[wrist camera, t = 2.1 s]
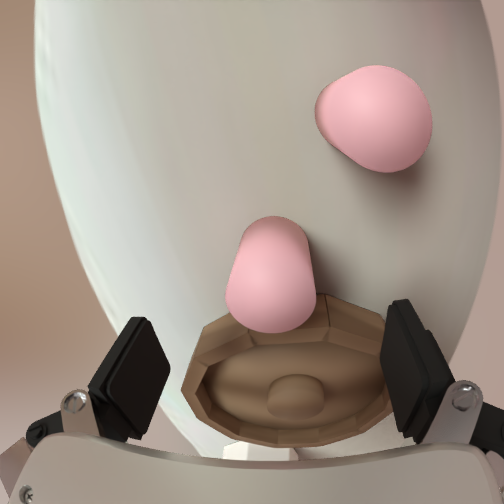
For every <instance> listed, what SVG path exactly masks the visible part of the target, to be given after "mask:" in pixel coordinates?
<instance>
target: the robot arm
mask: <svg viewBox="0 0 504 504" xmlns="http://www.w3.org/2000/svg"><path fill="white" fill-rule="evenodd" d="M380 364H381V368H382V371H383V375H384V378H385V382H386V385H387V389H388V393H389V397H390V400H391V404H392V408H393V412H394V416H395V421H396V425H397V429H398V431H399V432H403V436H404V438H408V437H413V440H414V442H416V444H415V445H412V446H406V447H401V448H395V449H390V450H384V451H379V452H373V453H366V454H360V455H352V456H344V457H336V458H326V459H313V460H294V461H250V460H231V459H218V458H208V457H199V456H191V455H184V454H177V453H171V452H166V451H160V450H155V449H150V448H145V447H141V446H136V445H132V444H128V442H127V439H128V437H130V438H133V439H137V440H141V438H142V436H143V434H145V433H146V432H147V430H148V427H149V424H150V422H151V419H152V417H153V414H154V412H155V409H156V407H157V404H158V401H159V399H160V396H161V394H162V391H163V389H164V386H165V384H166V381H167V379H168V376H169V374H170V364H169V362H168V360H167V358H166V356H165V353H164V351H163V349H162V347H161V345H160V342H159V340H158V338H157V336H156V333H155V331H154V329H153V326H152V324H151V322H150V321H149V320H147V319H146V318H145V317H131V318H130V320H129V321H128V323H127V324H126V326H125V327H124V329H123V330H122V332H121V333H120V335H119V336H118V338H117V340H116V341H115V343H114V345H113V346H112V347H111V349H110V351H109V352H108V354H107V355H106V357H105V359H104V360H103V362H102V363H101V365H100V367H99V368H98V370H97V371H96V373H95V375H94V376H93V378H92V380H91V381H90V383H89V385H88V388H89V391H88V393H87V392H86V391H85V390H82V389H81V390H80V389H77V390H73V391H71V392H69V393H68V394H67V395H66V396H65V397H64V398H63V400H62V402H61V410H60V411H58V412H56V413H53V414H51V415H49V416H47V417H44V418H42V419H40V420H38V421H35V422H34V423H32V424H31V426H29V428H28V430H27V432H26V439H25V438H24V437H22V438H21V439H20V440H18V441H17V442H16V443H15V444H14V445H12V446H11V447H10V448H9V449H7V450H6V451H5V452H3V453H2V454H1V455H0V478H1V480H2V483H3V485H4V487H5V489H6V492H7V494H8V496H9V498H10V499H9V502H8V504H504V410H502V409H500V408H497V407H495V406H493V405H490V404H488V403H485V402H483V395H482V391H481V390H480V388H479V387H478V386H477V385H476V384H474V383H473V382H471V381H466V380H462V381H457V382H456V381H455V379H454V377H453V375H452V373H451V370H450V369H449V366H448V364H447V362H446V360H445V358H444V356H443V354H442V352H441V350H440V348H439V346H438V344H437V342H436V340H435V338H434V336H433V335H432V333H431V332H430V331H429V330H425V328H424V327H423V325H422V323H421V321H420V319H419V317H418V315H417V314H416V312H415V310H414V308H413V306H412V305H411V303H410V301H409V300H408V299H403V300H396V301H393V303H392V305H389V306H388V311H387V318H386V324H385V330H384V336H383V341H382V346H381V351H380ZM499 487H500V489H499ZM500 492H501V493H500Z"/></svg>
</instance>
